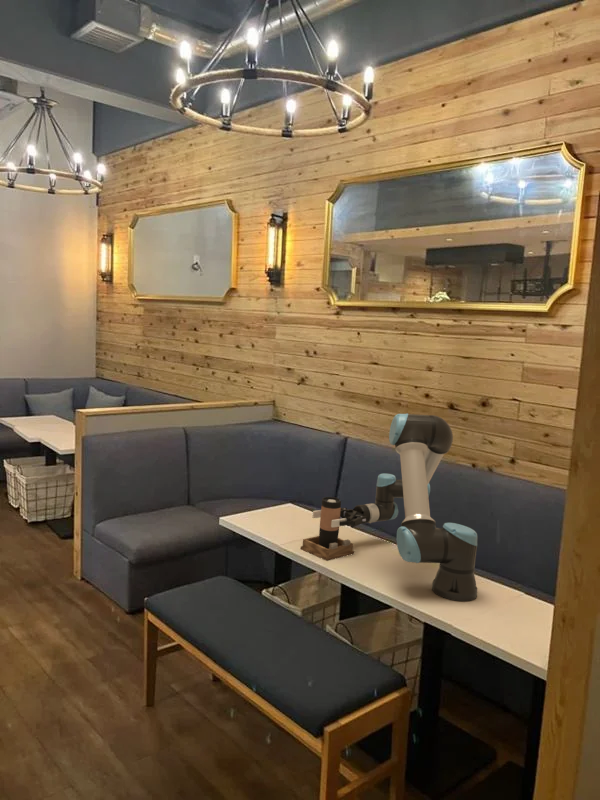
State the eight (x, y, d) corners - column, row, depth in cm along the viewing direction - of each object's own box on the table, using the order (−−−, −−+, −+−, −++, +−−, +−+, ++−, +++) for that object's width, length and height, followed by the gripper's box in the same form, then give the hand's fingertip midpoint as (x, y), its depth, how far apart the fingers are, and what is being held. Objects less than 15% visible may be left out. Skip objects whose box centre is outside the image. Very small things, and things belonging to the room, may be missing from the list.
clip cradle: (354, 553, 247) (355, 539, 246) (326, 560, 237) (327, 546, 237) (327, 542, 258) (328, 529, 258) (300, 548, 248) (301, 534, 248)
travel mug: (314, 549, 246) (318, 499, 243) (323, 543, 253) (327, 495, 250) (332, 553, 243) (336, 504, 240) (340, 547, 249) (344, 499, 246)
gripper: (384, 531, 247) (340, 538, 235) (346, 514, 267) (304, 519, 255) (385, 513, 246) (341, 518, 234) (348, 497, 266) (305, 501, 254)
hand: (322, 519), depth 244 cm, fingers open, 12 cm apart
